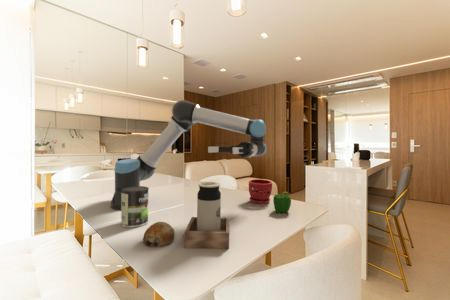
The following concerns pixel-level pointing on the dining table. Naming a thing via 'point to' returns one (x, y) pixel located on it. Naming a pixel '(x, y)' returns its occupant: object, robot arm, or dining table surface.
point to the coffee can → (134, 206)
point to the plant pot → (260, 191)
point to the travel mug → (208, 207)
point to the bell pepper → (282, 202)
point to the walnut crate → (207, 236)
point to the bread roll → (159, 234)
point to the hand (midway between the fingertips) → (220, 150)
